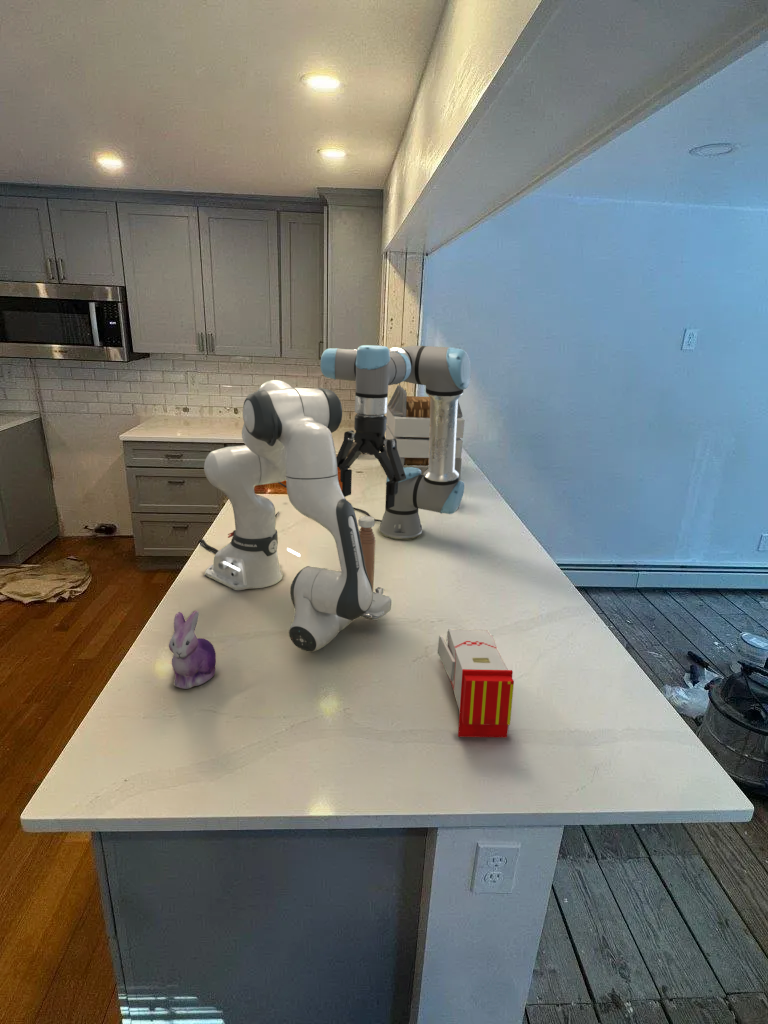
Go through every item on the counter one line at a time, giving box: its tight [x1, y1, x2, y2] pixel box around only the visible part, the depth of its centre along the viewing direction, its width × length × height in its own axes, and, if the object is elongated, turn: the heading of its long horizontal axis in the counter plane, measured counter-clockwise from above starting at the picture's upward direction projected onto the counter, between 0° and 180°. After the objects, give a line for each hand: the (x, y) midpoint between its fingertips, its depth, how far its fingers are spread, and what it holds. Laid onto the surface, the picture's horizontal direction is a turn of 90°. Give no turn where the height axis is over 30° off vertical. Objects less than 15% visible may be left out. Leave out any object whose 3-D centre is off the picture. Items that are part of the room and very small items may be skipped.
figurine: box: [168, 610, 217, 690], centre depth 117 cm, size 9×10×15 cm
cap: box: [357, 515, 376, 528], centre depth 141 cm, size 4×4×2 cm
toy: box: [437, 628, 515, 738], centre depth 117 cm, size 12×13×30 cm
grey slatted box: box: [384, 384, 465, 481], centre depth 268 cm, size 34×33×41 cm
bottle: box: [359, 527, 376, 591], centre depth 145 cm, size 5×5×25 cm
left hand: (365, 585), depth 148 cm, fingers open, 8 cm apart
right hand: (367, 501), depth 139 cm, fingers open, 13 cm apart
